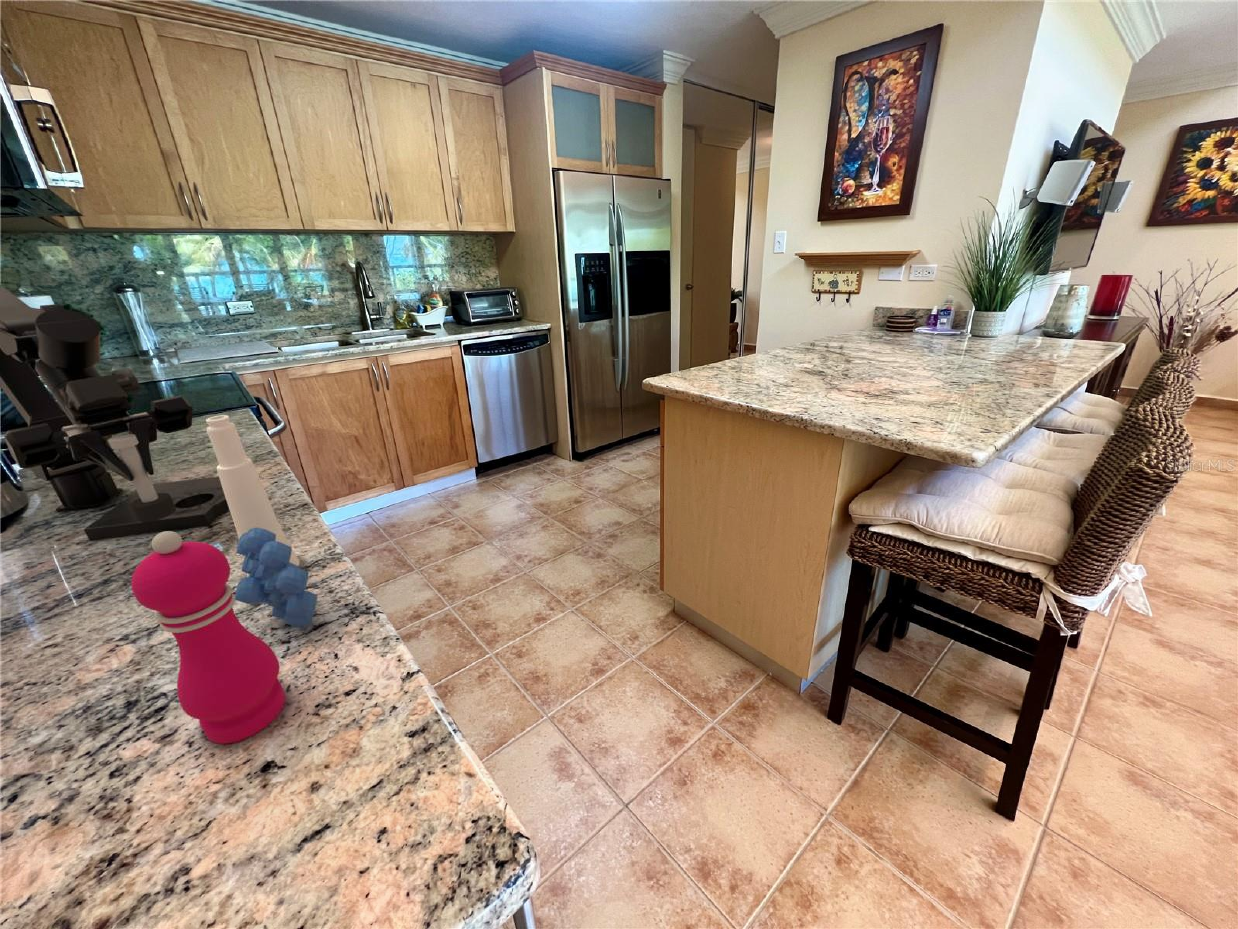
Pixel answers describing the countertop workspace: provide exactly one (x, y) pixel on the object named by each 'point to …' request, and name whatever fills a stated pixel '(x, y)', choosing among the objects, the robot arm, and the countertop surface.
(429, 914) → the countertop surface
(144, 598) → the pepper mill
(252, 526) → the cosmetic bottle
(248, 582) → the grapes
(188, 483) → the plate
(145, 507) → the stopper
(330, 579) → the countertop surface
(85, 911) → the countertop surface
